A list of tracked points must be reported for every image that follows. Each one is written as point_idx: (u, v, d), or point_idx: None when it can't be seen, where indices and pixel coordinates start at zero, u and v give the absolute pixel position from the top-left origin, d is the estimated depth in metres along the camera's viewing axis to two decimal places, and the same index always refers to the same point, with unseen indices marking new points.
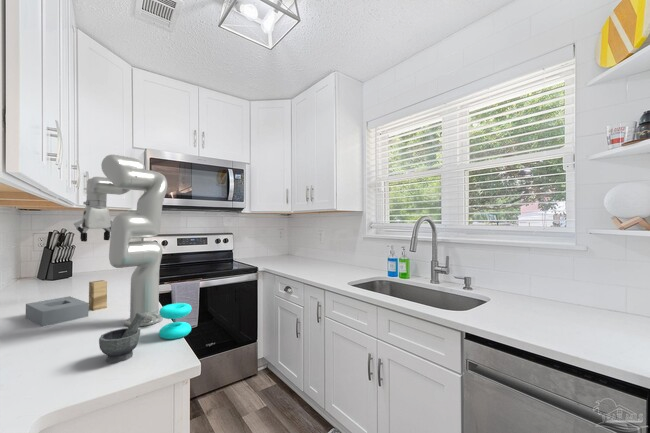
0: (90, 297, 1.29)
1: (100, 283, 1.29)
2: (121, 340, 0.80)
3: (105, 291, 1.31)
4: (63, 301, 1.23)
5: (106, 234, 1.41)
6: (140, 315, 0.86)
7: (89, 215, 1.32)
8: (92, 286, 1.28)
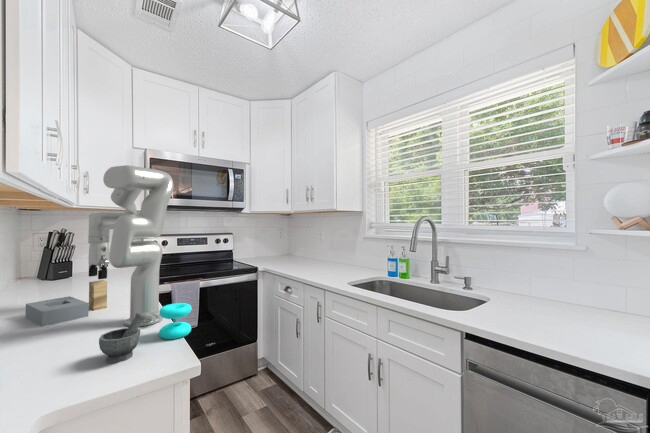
0: (90, 297, 1.29)
1: (100, 283, 1.29)
2: (121, 340, 0.80)
3: (105, 291, 1.31)
4: (63, 301, 1.23)
5: (94, 269, 1.34)
6: (140, 315, 0.86)
7: None
8: (92, 286, 1.28)
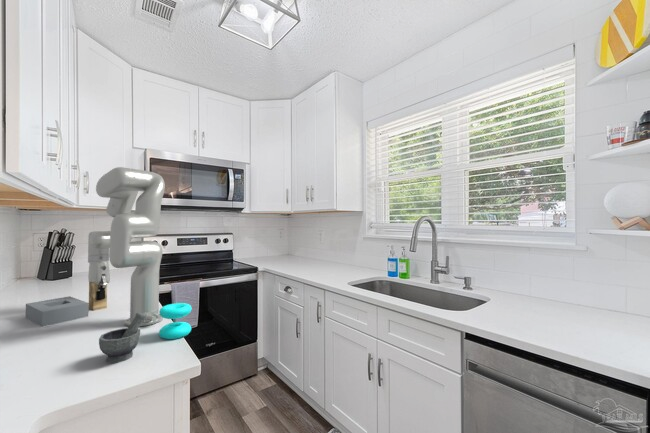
0: (90, 297, 1.29)
1: (100, 283, 1.29)
2: (121, 340, 0.80)
3: (105, 291, 1.31)
4: (63, 301, 1.23)
5: None
6: (140, 315, 0.86)
7: None
8: (92, 286, 1.28)
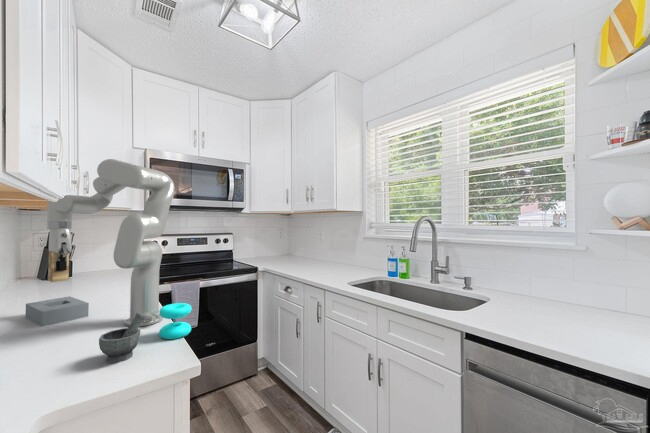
0: (49, 268, 1.17)
1: (61, 252, 1.18)
2: (121, 340, 0.80)
3: (67, 262, 1.19)
4: (63, 301, 1.23)
5: None
6: (140, 315, 0.86)
7: None
8: (51, 256, 1.17)
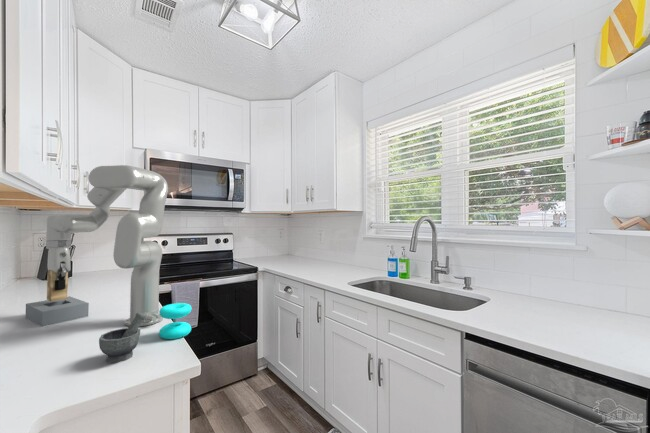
0: (48, 287, 1.17)
1: (59, 271, 1.18)
2: (121, 340, 0.80)
3: None
4: (63, 301, 1.23)
5: None
6: (140, 315, 0.86)
7: None
8: (50, 275, 1.16)
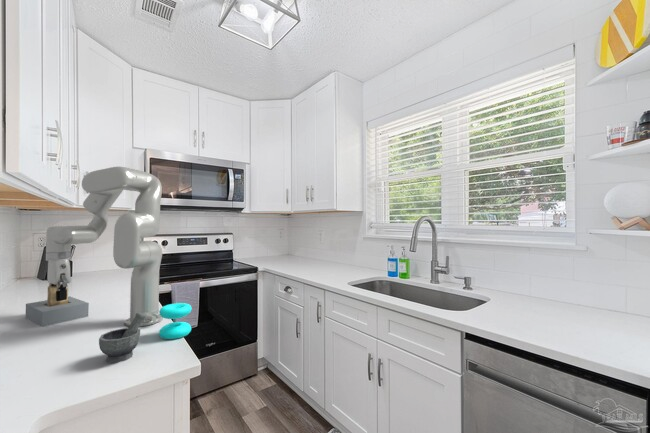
0: (48, 303, 1.17)
1: None
2: (121, 340, 0.80)
3: None
4: None
5: None
6: (140, 315, 0.86)
7: None
8: (50, 291, 1.16)
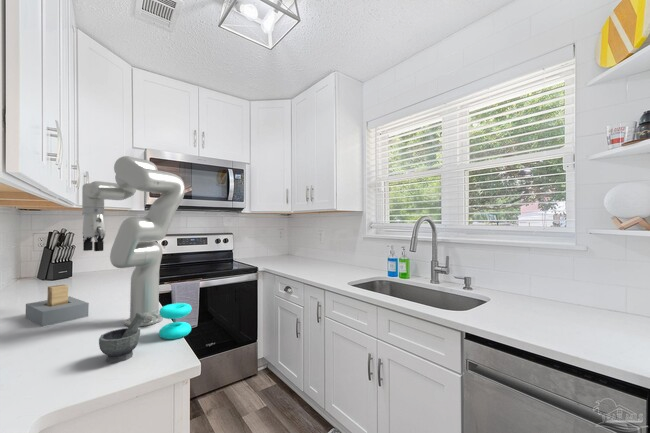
0: (48, 303, 1.17)
1: (60, 288, 1.17)
2: (121, 340, 0.80)
3: (66, 297, 1.19)
4: None
5: (89, 244, 1.29)
6: (140, 315, 0.86)
7: (104, 223, 1.27)
8: (50, 291, 1.16)
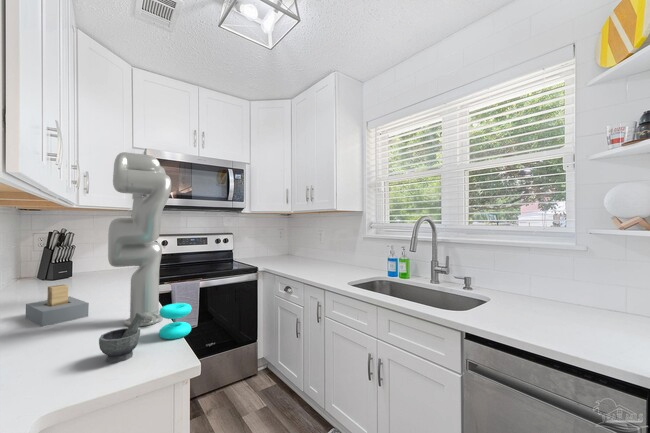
0: (48, 303, 1.17)
1: (60, 288, 1.17)
2: (121, 340, 0.80)
3: (66, 297, 1.19)
4: None
5: None
6: (140, 315, 0.86)
7: None
8: (50, 291, 1.16)
